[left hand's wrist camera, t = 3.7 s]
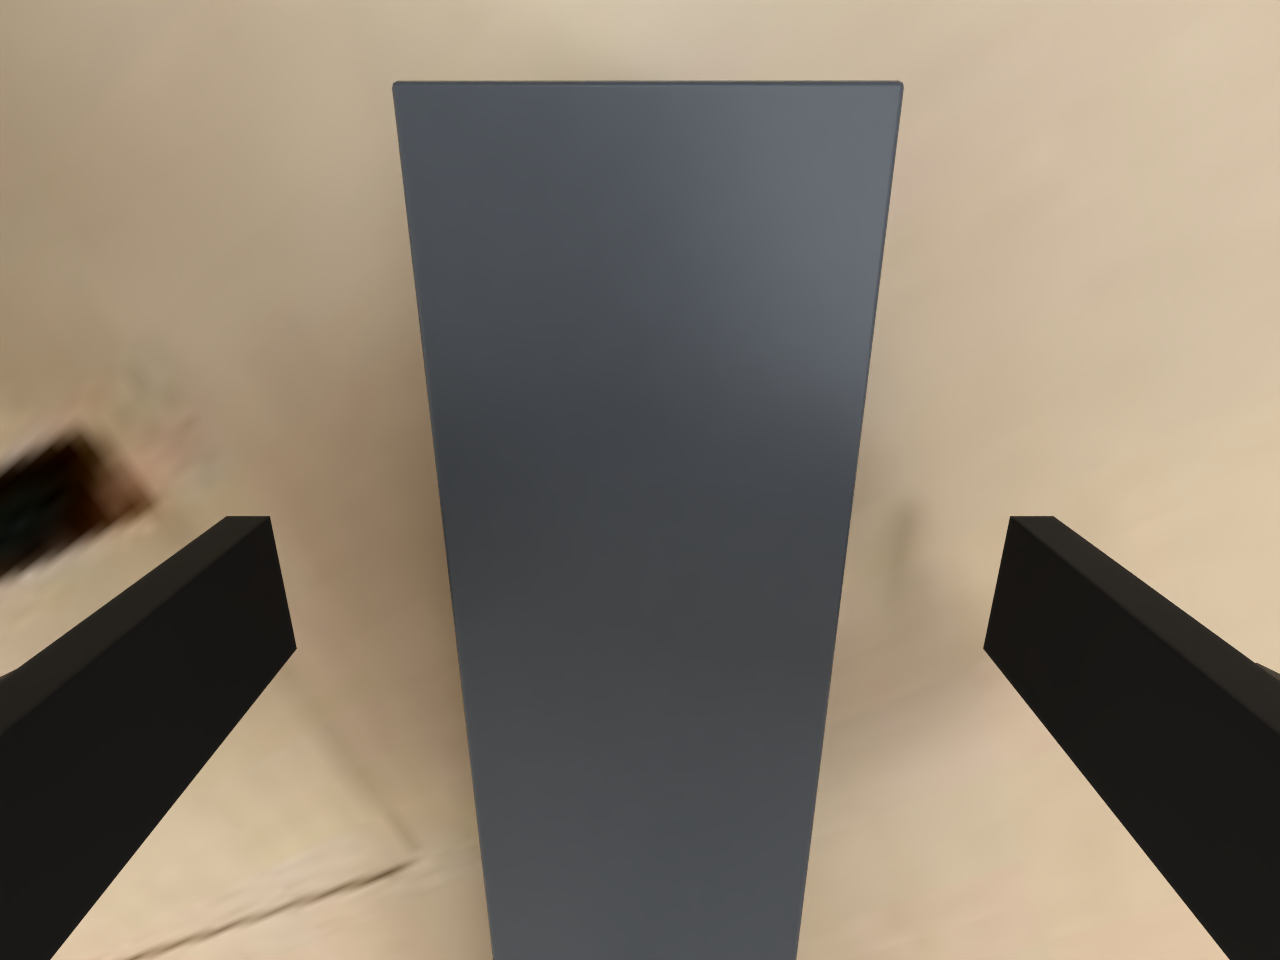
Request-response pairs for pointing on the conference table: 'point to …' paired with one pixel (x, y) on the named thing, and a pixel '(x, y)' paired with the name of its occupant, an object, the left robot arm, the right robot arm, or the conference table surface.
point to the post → (646, 482)
